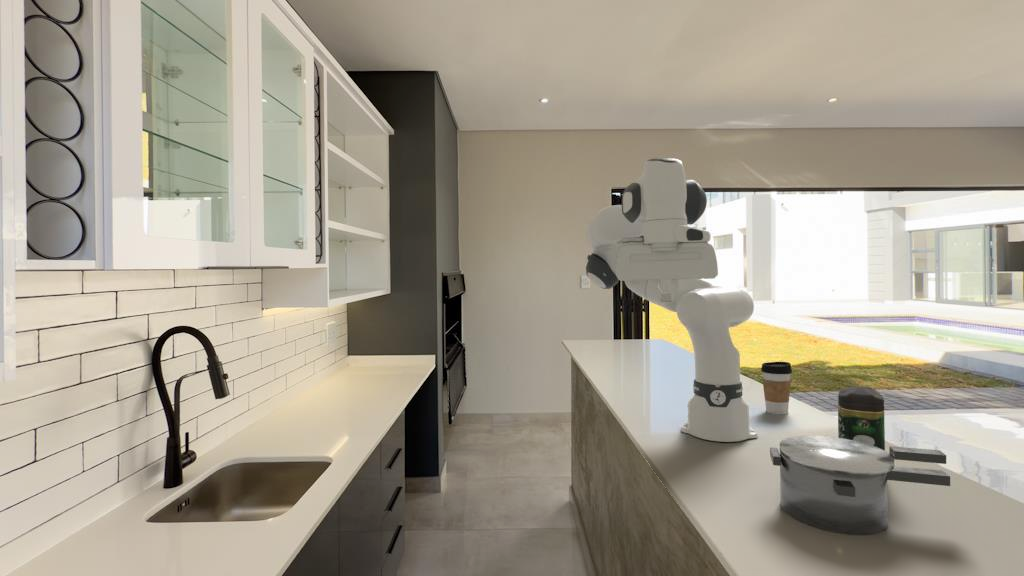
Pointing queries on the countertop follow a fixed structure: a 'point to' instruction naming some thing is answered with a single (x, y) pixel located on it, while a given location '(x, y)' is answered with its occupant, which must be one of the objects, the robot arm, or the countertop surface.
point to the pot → (843, 495)
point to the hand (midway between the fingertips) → (666, 301)
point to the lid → (851, 455)
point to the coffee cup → (776, 386)
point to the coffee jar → (861, 416)
